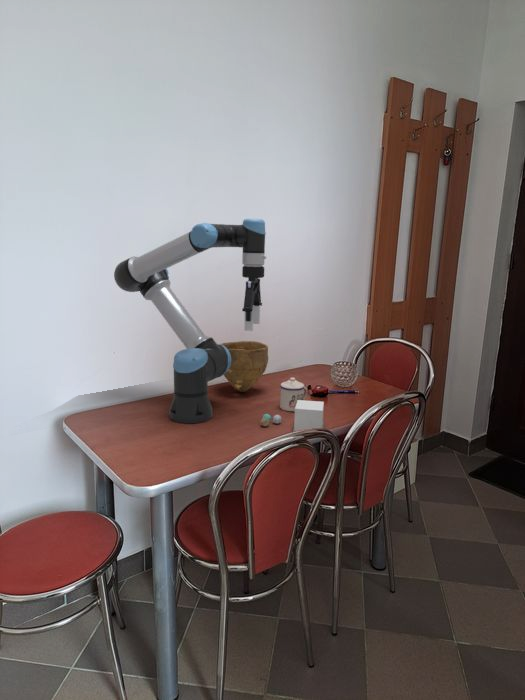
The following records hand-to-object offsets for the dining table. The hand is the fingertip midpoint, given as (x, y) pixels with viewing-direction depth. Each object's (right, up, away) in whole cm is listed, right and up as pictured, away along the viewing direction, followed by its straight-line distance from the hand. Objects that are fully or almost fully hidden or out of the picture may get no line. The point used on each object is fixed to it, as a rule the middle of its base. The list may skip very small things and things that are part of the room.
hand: (252, 327), depth 177 cm
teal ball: (+5, -33, -2) cm, 34 cm away
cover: (+19, -34, -7) cm, 40 cm away
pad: (+19, -35, -7) cm, 40 cm away
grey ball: (+9, -33, -2) cm, 34 cm away
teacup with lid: (+16, -30, +14) cm, 37 cm away
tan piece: (-5, -25, +31) cm, 41 cm away
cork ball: (+4, -34, -5) cm, 35 cm away
